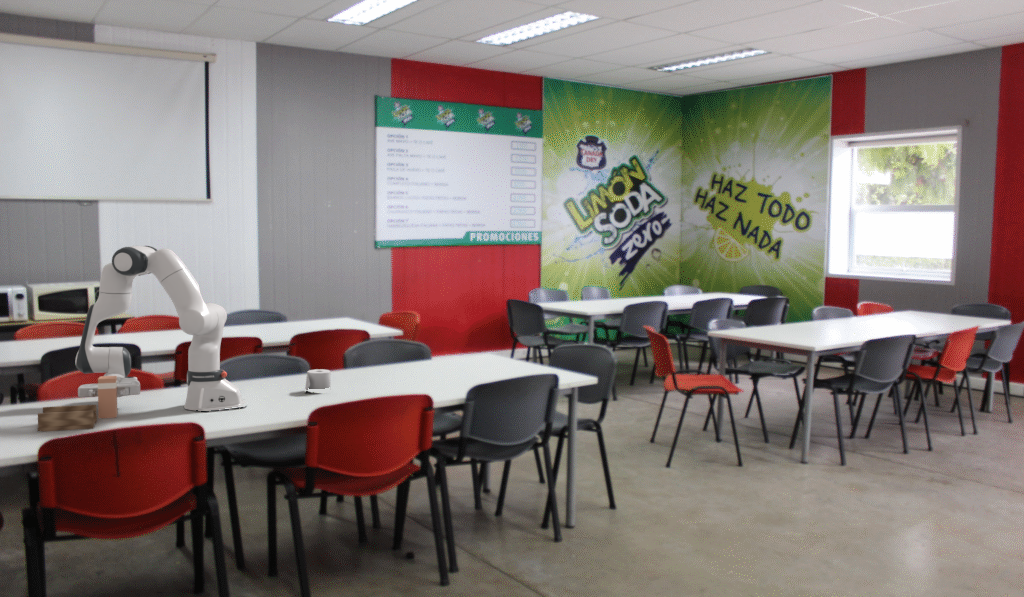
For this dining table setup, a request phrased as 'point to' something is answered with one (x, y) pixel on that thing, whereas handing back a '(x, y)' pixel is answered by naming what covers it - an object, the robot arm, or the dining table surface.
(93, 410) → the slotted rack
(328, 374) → the toilet tissue
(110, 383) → the carton
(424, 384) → the dining table surface
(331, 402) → the dining table surface
